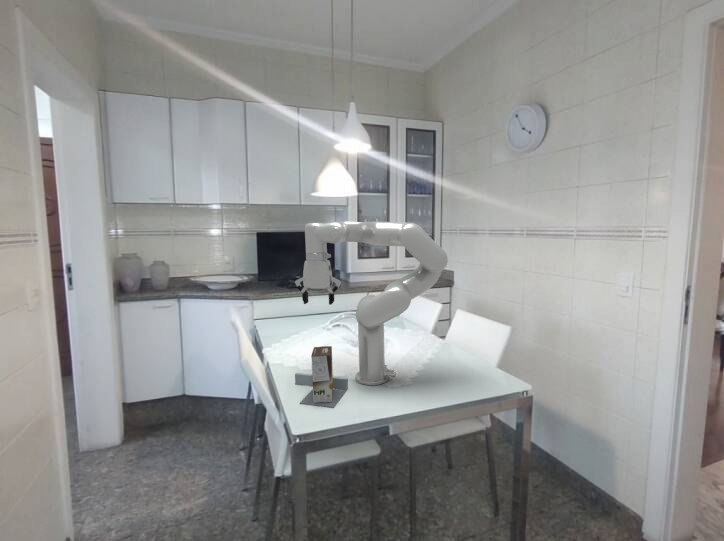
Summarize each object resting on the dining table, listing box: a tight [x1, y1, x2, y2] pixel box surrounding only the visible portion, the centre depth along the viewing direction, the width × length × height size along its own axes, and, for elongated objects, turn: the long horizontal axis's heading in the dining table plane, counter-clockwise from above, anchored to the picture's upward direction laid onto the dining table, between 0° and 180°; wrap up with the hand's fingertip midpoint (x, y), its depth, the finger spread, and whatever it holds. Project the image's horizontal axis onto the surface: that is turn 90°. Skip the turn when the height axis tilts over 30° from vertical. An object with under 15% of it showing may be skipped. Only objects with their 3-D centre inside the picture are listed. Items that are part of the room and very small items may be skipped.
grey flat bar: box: [294, 372, 349, 391], centre depth 139 cm, size 20×1×4 cm, turn 73°
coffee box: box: [311, 345, 334, 403], centre depth 130 cm, size 9×6×16 cm
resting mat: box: [299, 388, 347, 409], centre depth 131 cm, size 12×12×1 cm
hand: (318, 303), depth 142 cm, fingers open, 9 cm apart
